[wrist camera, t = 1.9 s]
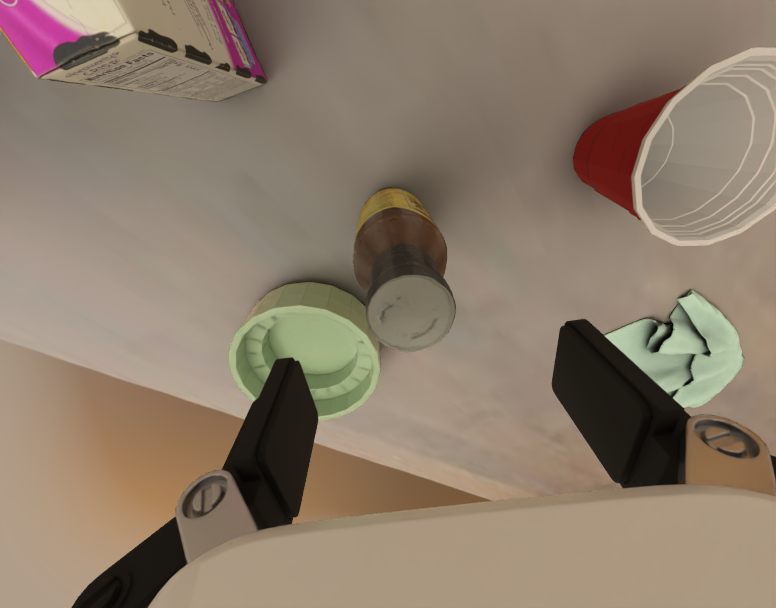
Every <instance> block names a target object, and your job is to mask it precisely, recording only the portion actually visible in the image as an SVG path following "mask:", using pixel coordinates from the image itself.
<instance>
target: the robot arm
mask: <svg viewBox="0 0 776 608" xmlns="http://www.w3.org/2000/svg"><path fill="white" fill-rule="evenodd" d="M552 388H553V391H554V393H555V395H556V396H557V398H558V399H559V401H560V402H561V404H562V405H563V407H564V408H565V410H566V411H567V413H568V414H569V416H570V417H571V419H572V420H573V422H574V423H575V425H576V426H577V428H578V429H579V431H580V432H581V434H582V435H583V437H584V438H585V440H586V441H587V443H588V444H589V446H590V447H591V449H592V450H593V452H594V453H595V455H596V456H597V458H598V459H599V461H600V462H601V464H602V465H603V467H604V468H605V470H606V471H607V473H608V474H609V476H610V477H611V478H612V480H613V481H614V482H616V483H620V484H621V486H622V487H623V488H621V489H609V490H598V491H588V492H578V493H568V494H558V495H548V496H538V497H528V498H518V499H509V500H499V501H489V502H480V503H470V504H461V505H452V506H442V507H433V508H424V509H414V510H405V511H397V512H387V513H379V514H369V515H361V516H351V517H343V518H335V519H327V520H320V521H312V522H304V523H296V524H292V520H293V517H297V516H298V514H299V510H300V505H301V501H302V496H303V491H304V486H305V482H306V477H307V472H308V467H309V462H310V458H311V453H312V448H313V443H314V439H315V434H316V429H317V424H318V412H317V409H316V406H315V403H314V400H313V397H312V395H311V392H310V389H309V386H308V383H307V381H306V378H305V375H304V372H303V370H302V367H301V364H300V362H299V361H298V360H297V361H295V360H294V358H293V357H289V358H281V359H276V360H275V362H274V364H273V366H272V369H271V371H270V373H269V375H268V378H267V380H266V382H265V384H264V386H263V389H262V391H261V393H260V395H259V398H257V399H256V400H254V402H253V403H252V405H251V408H250V410H249V412H248V414H247V416H246V418H245V421H244V423H243V425H242V427H241V429H240V432H239V434H238V436H237V438H236V440H235V442H234V444H233V447H232V449H231V451H230V453H229V455H228V457H227V460H226V462H225V464H224V466H223V468H222V470H214V471H212V472H208V473H206V474H204V475H202V476H201V477H199V478H198V479H196V480H195V481H194V482H192V483H191V484H190V485H189V487H188V488H187V489H186V490H185V491H184V492H183V494H182V495H181V497H180V499H179V500H178V503H177V506H176V517H174V518H173V519H172V520H170V521H169V522H168V523H166V524H165V525H164V526H163V527H161V528H160V529H159V530H157V531H156V532H155V533H153V534H152V535H151V536H150V537H148V538H147V539H146V540H144V541H143V542H142V543H141V544H139V545H138V546H137V547H135V548H134V549H133V550H132V551H130V552H129V553H128V554H126V555H125V556H124V557H123V558H121V559H120V560H119V561H117V562H116V563H115V564H114V565H112V566H111V567H110V568H108V569H107V570H106V571H104V572H103V573H102V574H101V575H99V576H98V577H97V578H96V579H95V580H94V581H93V582H92V583H90V584H89V585H88V586H87V588H86V589H85V590H84V591H83V592H82V593H81V595H80V596H79V597H78V598H77V600H76V601H75V603H74V605H73V606H72V608H776V457H775V456H772V455H770V452H769V450H768V448H767V445H766V444H765V443H764V442H763V441H762V439H761V438H760V437H759V436H758V435H756V434H755V433H753V432H752V431H751V430H749V429H748V428H746V427H744V426H742V425H741V424H739V423H737V422H734V421H732V420H729V419H726V418H724V417H719V416H715V415H706V414H700V415H695V416H693V417H691V416H690V415H689V414H687V413H686V412H685V411H684V408H683V407H682V406H681V405H680V404H679V403H678V402H677V401H675V400H674V399H673V398H672V397H671V396H670V395H669V394H668V393H667V392H666V391H664V390H663V389H662V388H661V387H660V386H659V385H658V384H657V383H656V382H655V381H654V380H652V379H651V378H650V377H649V376H648V375H647V374H646V373H645V372H644V371H643V370H641V369H640V368H639V367H638V366H637V365H636V364H635V363H634V362H633V361H632V360H630V359H629V358H628V357H627V356H626V355H625V354H624V353H623V352H622V351H621V350H619V349H618V348H617V347H616V346H615V345H614V344H613V343H612V342H611V341H610V340H609V339H607V338H606V337H605V336H604V335H603V334H602V333H601V332H600V331H599V330H598V329H596V328H595V327H594V326H593V325H592V324H591V323H590V322H589V321H587V320H586V319H580V320H573V321H567V322H566V323H565V325H564V326H562V327H561V328H560V332H559V339H558V345H557V352H556V359H555V365H554V372H553V378H552Z"/></svg>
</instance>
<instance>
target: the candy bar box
mask: <svg viewBox="0 0 776 608" xmlns="http://www.w3.org/2000/svg"><path fill="white" fill-rule="evenodd" d="M0 30H1V31H2V33H3V34H4V35H5V37H6V38H7V39H8V41H9V42H10V44H11V45H12V46H13V48H14V49H15V50H16V52H17V53H18V54H19V56H20V57H21V59H22V60H23V61H24V63H25V64H26V65H27V67H28V68H29V69H30V71H31V72H32V73H33V75H34V76H35V77H36V78H37V79H47V80H52V81H60V82H67V83H77V84H83V85H90V86H100V87H107V88H115V89H123V90H129V91H137V92H144V93H155V94H161V95H167V96H173V97H183V98H190V99H197V100H206V101H213V102H220V101H222V100H224V99H227V98H230V97H232V96H233V95H236V94H239V93H241V92H244V91H246V90H249V89H252V88H254V87H257V86H260V85H262V84H265V83H266V82H267V80H266V78H265V75H264V73H263V71H262V68H261V66H260V64H259V62H258V59H257V57H256V55H255V52H254V50H253V48H252V46H251V43H250V41H249V38H248V36H247V34H246V32H245V29H244V27H243V25H242V22H241V20H240V18H239V16H238V13H237V11H236V9H235V6H234V4H233V2H232V0H0Z"/></svg>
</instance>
